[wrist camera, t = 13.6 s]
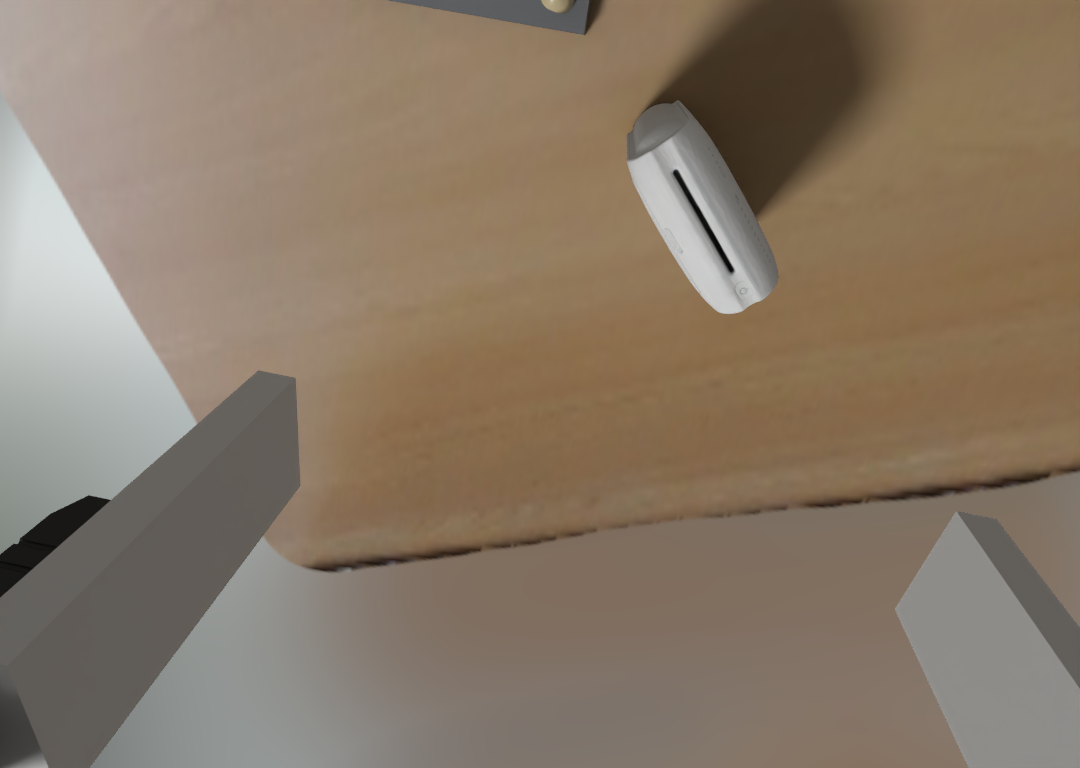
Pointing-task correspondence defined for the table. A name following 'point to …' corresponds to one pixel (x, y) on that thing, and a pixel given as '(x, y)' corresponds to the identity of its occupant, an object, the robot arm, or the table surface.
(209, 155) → the table surface
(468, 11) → the plate
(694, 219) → the photo printer
